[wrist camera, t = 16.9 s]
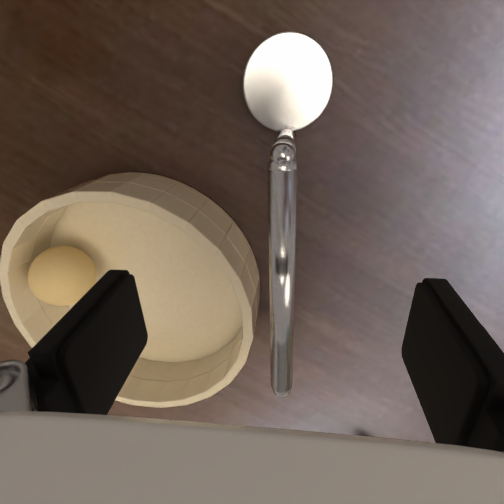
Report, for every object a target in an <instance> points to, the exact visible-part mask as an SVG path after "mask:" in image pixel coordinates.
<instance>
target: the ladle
mask: <svg viewBox="0 0 504 504" xmlns="http://www.w3.org/2000/svg"><path fill="white" fill-rule="evenodd" d="M332 90H333V68H332V64H331V61H330V59H329V56H328V54H327V53H326V51H325V49H324V48H323V47H322V45H321V44H320V43H319V42H318V41H316V40H315V39H314V38H312V37H311V36H309V35H307V34H304V33H302V32H297V31H284V32H279V33H276V34H273V35H271V36H269V37H268V38H266V39H265V40H263V41H262V42H261V43H260V44H259V45H258V46H257V47H256V48H255V49H254V51H253V52H252V54H251V55H250V57H249V59H248V61H247V64H246V66H245V70H244V74H243V94H244V99H245V102H246V105H247V107H248V109H249V111H250V112H251V114H252V115H253V117H254V118H255V119H256V120H257V121H258V122H259V123H260V124H262V125H263V126H265V127H266V128H268V129H270V130H273V131H277V132H279V133H278V136H277V138H276V140H275V142H274V144H273V147H272V149H271V151H270V161H269V163H268V227H269V295H270V362H271V387H272V389H273V392H274V394H275V395H276V396H277V397H279V398H285V397H287V396H288V395H289V393H290V390H291V388H292V375H293V336H294V296H295V257H296V217H297V177H298V165H297V161H296V159H295V155H296V133H295V131H299V130H301V129H304V128H306V127H308V126H309V125H311V124H312V123H313V122H315V121H316V120H317V119H318V118H319V117H320V115H321V114H322V113H323V112H324V110H325V109H326V107H327V105H328V103H329V100H330V98H331V94H332Z"/></svg>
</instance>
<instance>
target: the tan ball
mask: <svg viewBox="0 0 504 504" xmlns="http://www.w3.org/2000/svg"><path fill="white" fill-rule="evenodd" d="M96 275H97V273H96V268H95V265H94V263H93V261H92V260H91V258H90V257H89V256H88V255H87V254H86V253H84V252H83V251H81V250H79V249H77V248H74V247H69V246H58V247H53V248H50V249H48V250H45V251H43V252H42V253H41V254H39V255H38V256H37V257H36V258H35V259H34V260H33V262H32V264H31V265H30V268H29V271H28V283H29V286H30V289H31V290H32V292H33V293H34V295H35V296H36V297H37V298H39V299H40V300H42V301H43V302H45V303H48V304H51V305H56V306H66V305H71V304H74V303H77V302H78V301H79V300H80V299H81V298H82V297H83V296H84V295H85V294H86V293H87V292H88V291H89V290H90V289H91V288H92V287H93V286H94V285H95V282H96Z"/></svg>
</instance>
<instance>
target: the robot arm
mask: <svg viewBox="0 0 504 504" xmlns="http://www.w3.org/2000/svg"><path fill="white" fill-rule="evenodd" d="M147 339H148V334H147V329H146V325H145V321H144V316H143V312H142V308H141V303H140V299H139V295H138V291H137V286H136V282H135V278H134V276H133V275H132V274H130V273H129V272H128V271H127V270H109V271H107V272H106V273H105V274H104V275H103V276H102V277H101V279H100V280H99V281H98V282H97V283H96V284H95V285H94V286H93V287H92V288H91V289H90V290H89V291H88V292H87V293H86V294H85V295H84V296H83V297H82V298H81V299H80V300H79V301H78V302H77V303H76V304H75V305H74V306H73V307H72V308H71V309H70V310H69V311H68V312H67V313H66V314H65V315H64V316H63V317H62V318H61V319H60V320H59V321H58V322H57V323H56V324H55V325H54V326H53V327H52V328H51V329H50V330H49V332H48V333H47V334H46V335H45V336H44V337H43V338H42V339H41V340H40V341H39V342H38V343H37V344H36V345H35V346H34V347H33V348H32V349H31V350H30V351H29V352H28V354H29V356H30V358H29V359H28V360H27V362H26V363H24V362H22V361H20V360H6V361H2V362H0V504H504V353H503V352H502V350H501V349H500V348H499V346H498V345H497V344H496V343H495V341H494V340H493V339H492V337H491V336H490V335H489V333H488V332H487V331H486V330H485V328H484V327H483V326H482V325H481V324H480V322H479V321H478V320H477V319H476V317H475V316H474V315H473V313H472V312H471V311H470V310H469V308H468V307H467V306H466V304H465V303H464V302H463V300H462V299H461V298H460V297H459V295H458V294H457V293H456V291H455V290H454V289H453V288H452V286H451V285H450V284H449V282H448V281H447V280H446V279H435V278H425V279H424V280H423V281H422V283H417V285H416V288H415V292H414V296H413V301H412V305H411V309H410V314H409V318H408V322H407V327H406V331H405V336H404V340H403V344H402V358H403V361H404V363H405V366H406V368H407V371H408V373H409V376H410V378H411V381H412V383H413V386H414V389H415V391H416V394H417V396H418V399H419V401H420V404H421V406H422V409H423V411H424V414H425V416H426V419H427V422H428V424H429V427H430V429H431V432H432V434H433V437H434V439H435V442H436V443H430V442H421V441H411V440H401V439H392V438H380V437H369V436H357V435H346V434H335V433H323V432H312V431H300V430H289V429H277V428H265V427H253V426H240V425H228V424H216V423H203V422H191V421H178V420H165V419H152V418H139V417H126V416H113V415H107V413H108V412H109V410H110V408H111V406H112V405H113V403H114V401H115V399H116V397H117V396H118V394H119V392H120V390H121V388H122V387H123V385H124V383H125V381H126V380H127V378H128V376H129V374H130V372H131V371H132V369H133V367H134V365H135V364H136V362H137V360H138V358H139V356H140V355H141V353H142V351H143V349H144V347H145V346H146V344H147Z"/></svg>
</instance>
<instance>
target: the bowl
mask: <svg viewBox="0 0 504 504" xmlns="http://www.w3.org/2000/svg"><path fill="white" fill-rule="evenodd" d="M58 246H69V247H74V248H77V249H79V250H81V251H83V252H84V253H86V254H87V255H88V256H89V257H90V258H91V260H92V261H93V263H94V265H95V268H96V273H97V275H96V282H95V284H96V283H97V282H98V281H99V280H100V279H101V277H102V276H103V275H104V274H105V273H106V272H107V271H109V270H127V271H128V272H129V273H130V274H132V275H133V276H134V278H135V282H136V286H137V291H138V295H139V299H140V303H141V308H142V312H143V316H144V321H145V325H146V329H147V334H148V339H147V344H146V346H145V347H144V349H143V351H142V353H141V355H140V356H139V358H138V360H137V362H136V364H135V365H134V367H133V369H132V371H131V372H130V374H129V376H128V378H127V380H126V381H125V383H124V385H123V387H122V388H121V390H120V392H119V394H118V396H117V397H116V399H115V400H116V401H119V402H123V403H127V404H130V405H136V406H147V407H157V408H160V407H161V408H163V407H173V406H182V405H189V404H191V403H194V402H197V401H200V400H203V399H206V398H209V397H210V396H212V395H214V394H215V393H217V392H218V391H220V390H221V389H222V388H224V387H225V386H227V385H228V384H230V382H232V380H233V379H234V378H235V376H236V375H237V374H238V372H239V371H240V370H241V368H242V367H243V366H244V364H245V362H246V360H247V356H248V353H249V350H250V347H251V343H252V340H253V335H254V330H255V324H256V319H257V314H258V308H259V302H260V299H259V298H260V279H259V271H258V267H257V263H256V259H255V257H254V254H253V252H252V249H251V247H250V245H249V243H248V241H247V240H246V238H245V236H244V234H243V233H242V231H241V230H240V229H239V227H238V226H237V225H236V223H235V222H234V221H233V220H232V219H231V218H230V217H229V216H228V215H227V213H226V212H225V211H224V210H223V209H222V208H220V207H219V206H218V205H217V204H216V203H214V202H213V201H212V200H211V199H209V198H208V197H206V196H205V195H203V194H202V193H200V192H198V191H197V190H195V189H193V188H191V187H189V186H187V185H185V184H183V183H181V182H179V181H176V180H173V179H170V178H167V177H164V176H159V175H154V174H149V173H137V172H126V173H115V174H110V175H106V176H101V177H99V178H96V179H94V180H91V181H87V182H84V183H82V184H79V185H77V186H75V187H72V188H70V189H68V190H66V191H63V192H61V193H59V194H56V195H54V196H52V197H50V198H47V199H45V200H43V201H41V202H39V203H38V204H37V205H35V206H34V207H33V208H31V209H30V210H29V211H27V212H26V213H25V214H23V215H22V216H21V217H20V218H18V220H16V222H15V224H14V225H13V227H12V229H11V231H10V232H9V234H8V236H7V237H6V239H5V241H4V242H3V246H2V252H1V258H0V283H1V289H2V296H3V299H4V302H5V304H6V306H7V308H8V311H9V313H10V315H11V317H12V320H13V322H14V324H15V326H16V327H17V328H18V330H19V331H20V332H21V334H22V335H23V337H24V338H25V339H26V341H27V342H28V343H29V345H30V346H31V347H32V348H33V347H34V346H35V345H36V344H37V343H38V342H39V341H40V340H41V339H42V338H43V337H44V336H45V335H46V334H47V333H48V332H49V330H50V329H51V328H52V327H53V326H54V325H55V324H56V323H57V322H58V321H59V320H60V319H61V318H62V317H63V316H64V315H65V314H66V313H67V312H68V311H69V310H70V309H71V308H72V307H73V306H74V305H75V304H76V303H74V304H71V305H66V306H56V305H51V304H48V303H45V302H43V301H42V300H40V299H39V298H37V297H36V296H35V295H34V293H33V292H32V290H31V289H30V286H29V283H28V271H29V268H30V265H31V264H32V262H33V260H34V259H35V258H36V257H37V256H38V255H39V254H41V253H42V252H43V251H45V250H48V249H50V248H53V247H58Z"/></svg>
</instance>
